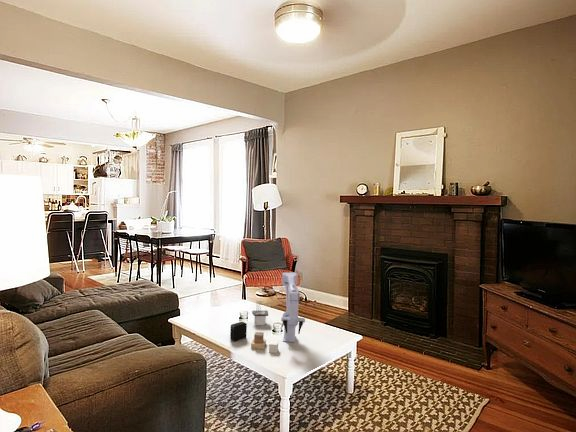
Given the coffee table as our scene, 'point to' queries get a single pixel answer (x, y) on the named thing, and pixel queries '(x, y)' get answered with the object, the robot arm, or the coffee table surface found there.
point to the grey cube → (273, 346)
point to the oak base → (258, 344)
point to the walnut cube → (258, 337)
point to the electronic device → (238, 331)
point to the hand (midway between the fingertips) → (292, 332)
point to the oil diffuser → (260, 316)
